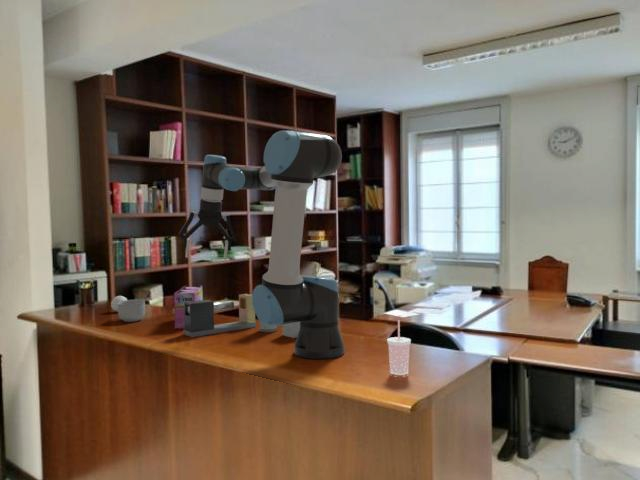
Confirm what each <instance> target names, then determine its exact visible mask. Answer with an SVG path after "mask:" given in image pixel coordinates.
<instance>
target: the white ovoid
mask: <svg viewBox="0 0 640 480" xmlns="http://www.w3.org/2000/svg"><path fill="white" fill-rule="evenodd" d="M124 300H125V301H126V300H128V298H127V297H125V296H123V295H117V296H114V298H112V300H111V301H110V302H111V303H110V305H111V309H112V310H114V311H115V312H116V313H118V306H117V303H118V302H121V301H124Z"/></svg>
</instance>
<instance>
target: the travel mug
mask: <svg viewBox="0 0 640 480" xmlns="http://www.w3.org/2000/svg"><path fill="white" fill-rule="evenodd" d="M259 285H262V278H260V279H258V286H259ZM259 331H260V332H261V333H267V334H269V333H274V332H276V331H278V326H277V325H274V326H267V325H265V324H263V323H262V322H261V321H260V320H259Z"/></svg>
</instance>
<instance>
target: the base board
mask: <svg viewBox="0 0 640 480" xmlns="http://www.w3.org/2000/svg"><path fill="white" fill-rule="evenodd" d="M252 328H257V322H255V323H251V324H245V323H242V322H239V321H234V322H227V323H226V322H225V323H220V324H214V329H210V330H204V331H197V332H188V331H185V329H183V335H185V336H187V337H191V338H196V336H197V337H202V336H208V335H215V334H219V333H220V334H221V333H227V332H233V331H239V330H246V329H252Z"/></svg>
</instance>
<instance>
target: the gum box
mask: <svg viewBox="0 0 640 480" xmlns="http://www.w3.org/2000/svg"><path fill="white" fill-rule="evenodd" d="M203 294H204V291H203V285H199V287H197V286H188V285H184V286H182V287H181V288H180V289H179V290H177V291H175V292H174V293H173V301H174V304H173V305H174V329H176V328H178V329H185V319H184V302H192V301H201V300H204V295H203Z"/></svg>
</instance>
